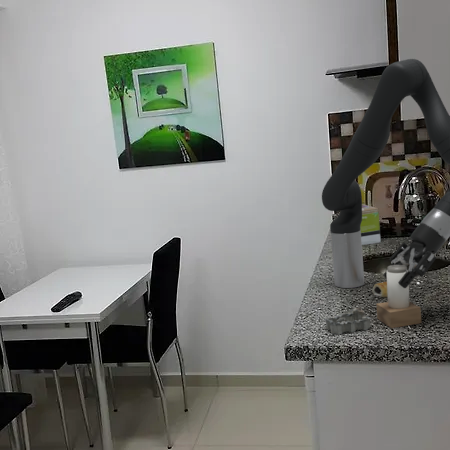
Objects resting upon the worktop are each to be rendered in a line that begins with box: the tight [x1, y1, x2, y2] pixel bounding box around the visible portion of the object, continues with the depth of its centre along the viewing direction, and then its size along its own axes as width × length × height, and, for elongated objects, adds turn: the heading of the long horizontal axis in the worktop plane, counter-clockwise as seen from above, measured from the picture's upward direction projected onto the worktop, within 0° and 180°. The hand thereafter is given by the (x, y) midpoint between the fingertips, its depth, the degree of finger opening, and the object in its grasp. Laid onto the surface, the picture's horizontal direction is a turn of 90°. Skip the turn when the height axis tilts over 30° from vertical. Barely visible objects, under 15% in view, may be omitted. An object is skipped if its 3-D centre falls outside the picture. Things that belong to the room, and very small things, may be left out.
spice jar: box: [385, 264, 410, 309], centre depth 147 cm, size 5×5×10 cm
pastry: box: [371, 281, 388, 298], centre depth 172 cm, size 9×7×4 cm
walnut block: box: [376, 300, 422, 329], centre depth 148 cm, size 8×8×4 cm
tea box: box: [360, 203, 382, 246], centre depth 248 cm, size 15×10×15 cm, turn 10°
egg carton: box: [323, 306, 372, 335], centre depth 147 cm, size 11×8×4 cm
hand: (393, 282), depth 147 cm, fingers open, 8 cm apart
